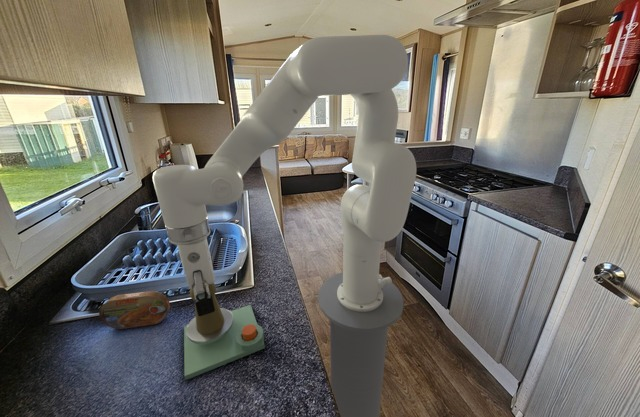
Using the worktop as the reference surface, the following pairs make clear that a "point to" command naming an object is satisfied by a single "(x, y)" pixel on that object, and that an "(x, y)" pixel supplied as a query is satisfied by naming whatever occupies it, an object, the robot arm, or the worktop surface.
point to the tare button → (249, 332)
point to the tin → (134, 310)
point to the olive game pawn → (211, 320)
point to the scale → (222, 345)
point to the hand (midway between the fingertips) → (205, 298)
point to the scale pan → (214, 336)
